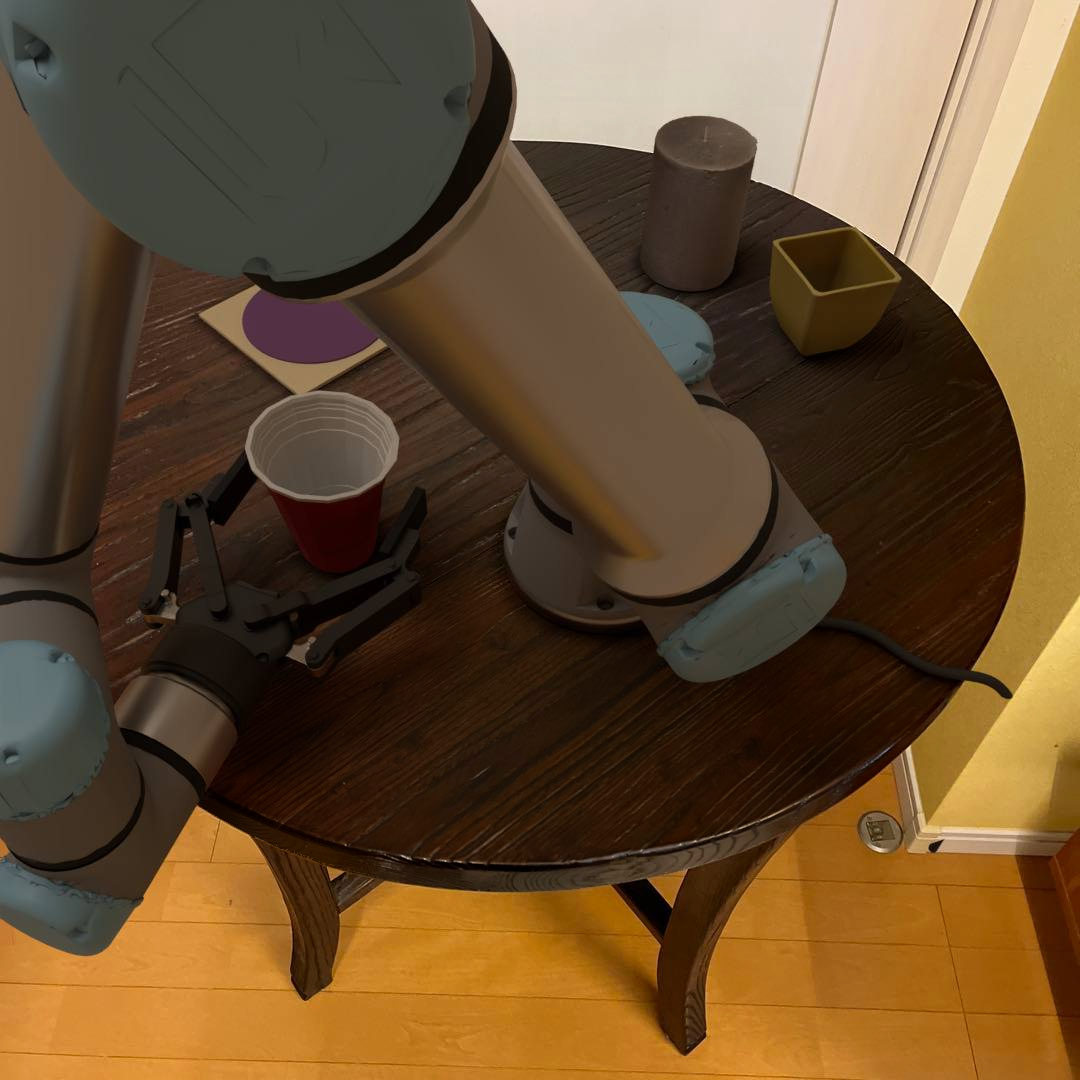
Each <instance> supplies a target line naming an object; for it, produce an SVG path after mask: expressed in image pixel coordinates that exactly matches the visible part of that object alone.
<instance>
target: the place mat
mask: <svg viewBox="0 0 1080 1080" xmlns="http://www.w3.org/2000/svg"><path fill="white" fill-rule="evenodd" d="M198 317H199V318H200V319H201V320H202V321H204V322H205V324H207V325H208V326H209V327H211V328H212V329H213V330H214V331H216V332H217V333H218V334H219V335H221V336H222V338H225V339H226V340H227V341H228V342H229V343H231V344H232V345H233V346H234V347H236V348H237V349H238V350H239V351H241V352H242V353H243V354H244V355H246V356H247V357H248V358H249V359H250V360H252V361H253V362H254V363H256V365H258V366H259V367H260V368H261V369H263V370H264V371H265V372H266V373H268V374H269V375H270V376H272V378H274V379H275V380H276V381H277V382H279V383H280V384H281V385H283V386H284V387H285V388H287V389H288V390H289V391H290V392H291V393H293V394H294V395H298V394H303V393H308V392H313V391H318V390H319V389H320V388H322V387H324V386H326V385H328V384H329V383H331V382H333V381H334V380H336V379H338V378H340V377H341V376H344V375H345V374H346V373H348V372H350V371H351V370H353V369H355V368H357V367H358V366H360V365H362V364H364V363H365V362H367V361H369V360H370V359H372V358H374V357H375V356H377V355H380V354H381V353H382V352H384V351H387V350H388V349H390V348H389V347H388V346H387V345H386V344H385V343H384V342H383V341H381V340H380V339H379V338H378V337H377V336H376V335H375V334H374V333H373V332H372V331H371V330H370V329H368V328H367V327H366V326H365V325H364V324H363V323H362V322H361V321H360V320H359V319H358V318H357V317H355V316H354V315H353V314H352V313H351V312H350V311H349V310H348V309H347V308H346V307H345V306H344V305H342V304H341V303H340V302H339V301H333V302H328V303H322V304H298V303H290V302H286V301H283V300H280V299H277V298H275V297H273V296H271V295H270V294H268V293H266V292H264V291H263V290H262V289H261V288H259V287H258V286H257V285H256V284H254V285H253V286H251V287H249V288H247V289H245V290H242V291H241V292H239V293H237V294H235V295H233V296H231V297H229V298H227V299H225V300H223V301H221V302H219V303H217V304H215V305H214V306H211V307H209V308H208V309H206V310H203V311H201V312H200V313H198Z"/></svg>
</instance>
